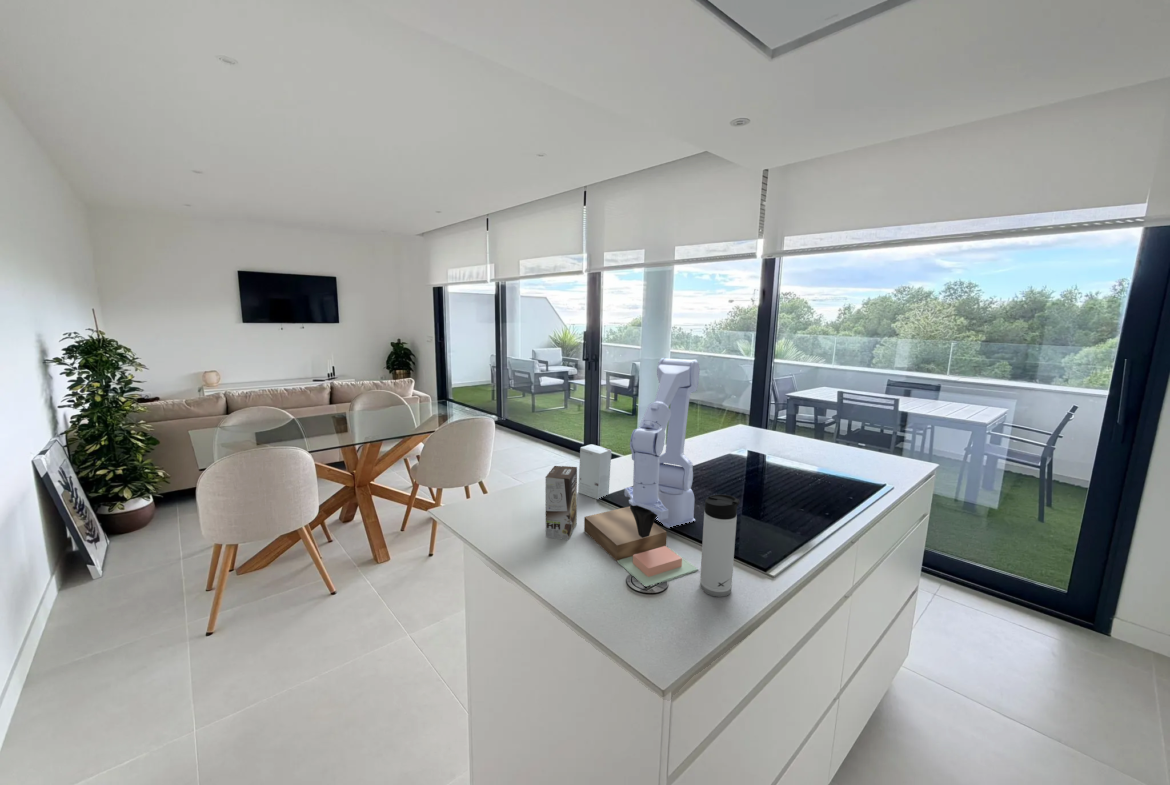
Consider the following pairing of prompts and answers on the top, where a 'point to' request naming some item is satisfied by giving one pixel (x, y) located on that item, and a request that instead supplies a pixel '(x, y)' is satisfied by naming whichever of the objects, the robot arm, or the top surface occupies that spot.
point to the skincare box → (594, 471)
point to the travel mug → (718, 544)
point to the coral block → (657, 561)
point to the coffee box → (561, 502)
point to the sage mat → (658, 578)
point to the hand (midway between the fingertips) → (644, 535)
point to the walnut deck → (622, 533)
